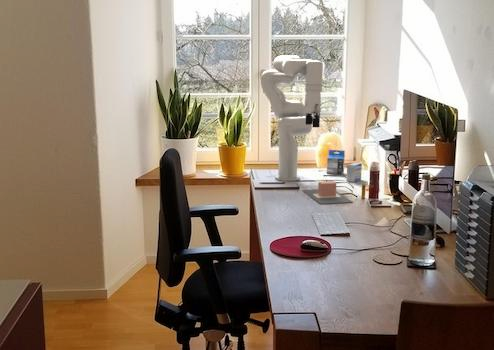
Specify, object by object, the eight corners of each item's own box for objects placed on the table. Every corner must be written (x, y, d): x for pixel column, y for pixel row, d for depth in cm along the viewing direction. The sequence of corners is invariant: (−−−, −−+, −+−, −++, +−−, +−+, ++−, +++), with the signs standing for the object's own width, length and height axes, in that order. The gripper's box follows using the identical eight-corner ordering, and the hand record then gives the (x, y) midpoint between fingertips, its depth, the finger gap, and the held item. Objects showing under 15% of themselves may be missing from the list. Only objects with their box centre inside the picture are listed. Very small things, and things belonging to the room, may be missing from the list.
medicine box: (354, 182, 286) (355, 165, 285) (346, 181, 289) (346, 164, 287) (361, 179, 293) (362, 163, 291) (353, 178, 295) (354, 162, 293)
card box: (332, 193, 261) (333, 181, 260) (335, 196, 258) (336, 183, 256) (318, 194, 260) (318, 181, 258) (321, 196, 256) (321, 183, 255)
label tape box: (326, 173, 307) (327, 150, 304) (327, 171, 310) (328, 149, 308) (342, 174, 304) (344, 151, 301) (343, 173, 308) (345, 150, 305)
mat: (302, 191, 269) (302, 189, 268) (332, 189, 272) (332, 188, 272) (319, 204, 246) (319, 203, 246) (352, 202, 249) (352, 201, 249)
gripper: (299, 87, 268) (298, 123, 272) (312, 89, 252) (310, 128, 256) (315, 87, 270) (313, 123, 274) (328, 89, 254) (326, 128, 257)
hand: (312, 125), depth 265 cm, fingers open, 9 cm apart
